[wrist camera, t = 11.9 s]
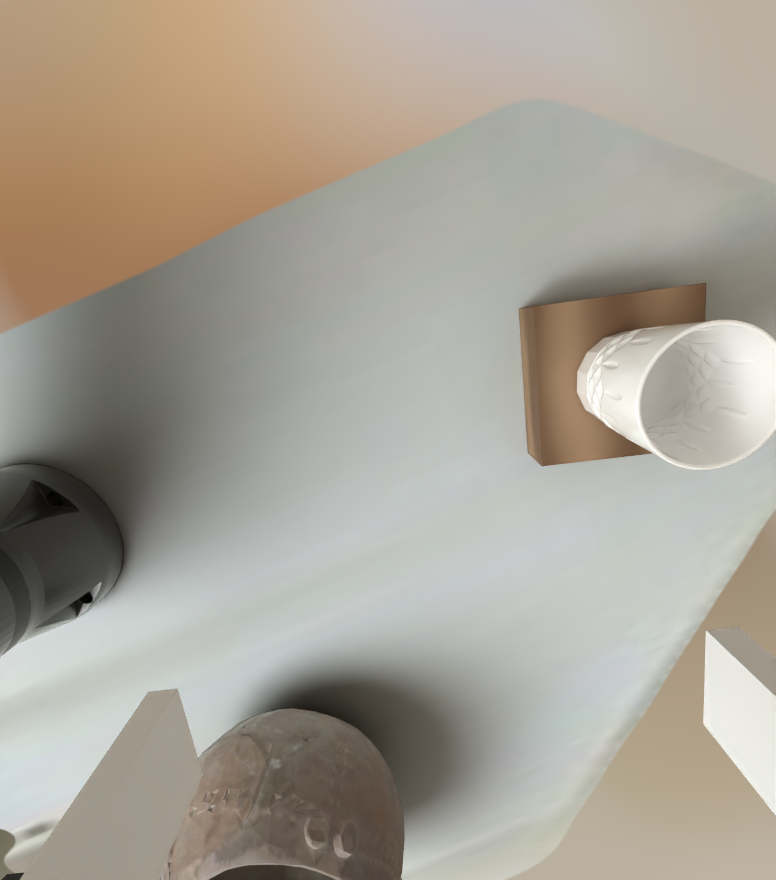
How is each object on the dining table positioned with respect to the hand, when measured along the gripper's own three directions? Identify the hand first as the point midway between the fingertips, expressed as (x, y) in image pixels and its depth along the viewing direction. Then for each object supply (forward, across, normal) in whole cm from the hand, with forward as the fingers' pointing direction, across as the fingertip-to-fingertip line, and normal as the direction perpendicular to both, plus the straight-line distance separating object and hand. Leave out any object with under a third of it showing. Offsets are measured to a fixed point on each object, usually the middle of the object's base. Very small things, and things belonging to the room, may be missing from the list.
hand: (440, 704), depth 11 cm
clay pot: (+29, -15, -32) cm, 46 cm away
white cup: (+24, +16, +4) cm, 29 cm away
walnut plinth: (+28, +16, +4) cm, 33 cm away
